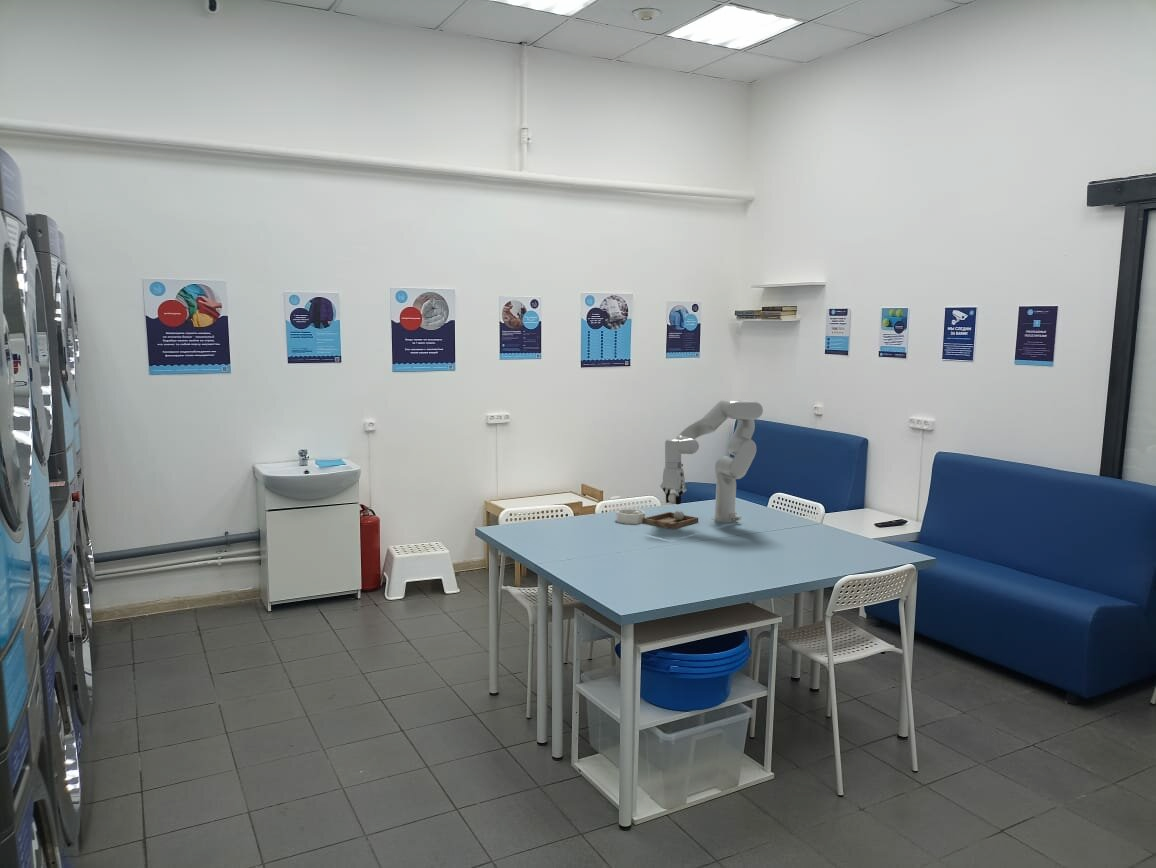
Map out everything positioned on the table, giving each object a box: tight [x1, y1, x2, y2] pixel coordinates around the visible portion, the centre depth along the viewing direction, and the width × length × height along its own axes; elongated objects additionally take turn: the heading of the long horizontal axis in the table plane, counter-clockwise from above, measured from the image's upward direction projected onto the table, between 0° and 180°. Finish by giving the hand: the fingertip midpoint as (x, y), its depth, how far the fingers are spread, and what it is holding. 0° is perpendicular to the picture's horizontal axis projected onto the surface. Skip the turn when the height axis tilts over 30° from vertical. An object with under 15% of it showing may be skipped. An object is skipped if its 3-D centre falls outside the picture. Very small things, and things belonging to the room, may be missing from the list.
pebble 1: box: [668, 492, 677, 505], centre depth 383 cm, size 5×5×5 cm
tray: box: [643, 511, 699, 530], centre depth 383 cm, size 17×21×3 cm
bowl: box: [615, 508, 646, 525], centre depth 386 cm, size 13×13×5 cm
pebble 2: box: [673, 509, 685, 521], centre depth 388 cm, size 5×5×5 cm
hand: (673, 502), depth 383 cm, fingers closed on pebble 1, 4 cm apart
